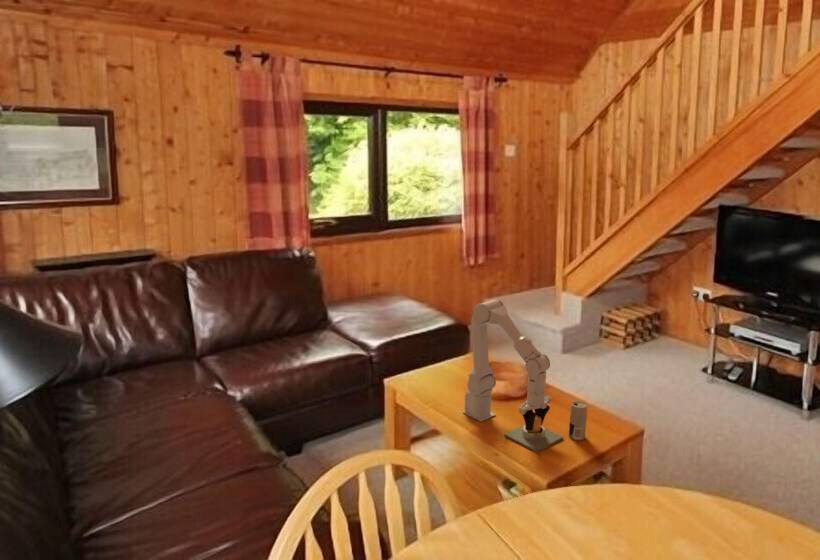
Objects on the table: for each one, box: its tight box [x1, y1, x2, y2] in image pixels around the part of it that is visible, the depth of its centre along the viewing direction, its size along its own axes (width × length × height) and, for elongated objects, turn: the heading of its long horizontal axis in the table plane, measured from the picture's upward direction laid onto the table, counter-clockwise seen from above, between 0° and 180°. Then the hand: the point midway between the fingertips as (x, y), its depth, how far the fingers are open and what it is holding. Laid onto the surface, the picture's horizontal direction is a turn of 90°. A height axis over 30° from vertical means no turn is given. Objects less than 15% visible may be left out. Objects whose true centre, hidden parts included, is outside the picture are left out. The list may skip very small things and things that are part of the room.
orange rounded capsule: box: [527, 415, 541, 433], centre depth 201 cm, size 4×4×5 cm
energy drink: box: [568, 401, 588, 441], centre depth 201 cm, size 5×5×12 cm
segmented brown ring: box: [522, 424, 546, 441], centre depth 202 cm, size 7×7×2 cm
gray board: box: [503, 424, 564, 453], centre depth 202 cm, size 14×14×1 cm
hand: (534, 427), depth 201 cm, fingers closed on orange rounded capsule, 4 cm apart
